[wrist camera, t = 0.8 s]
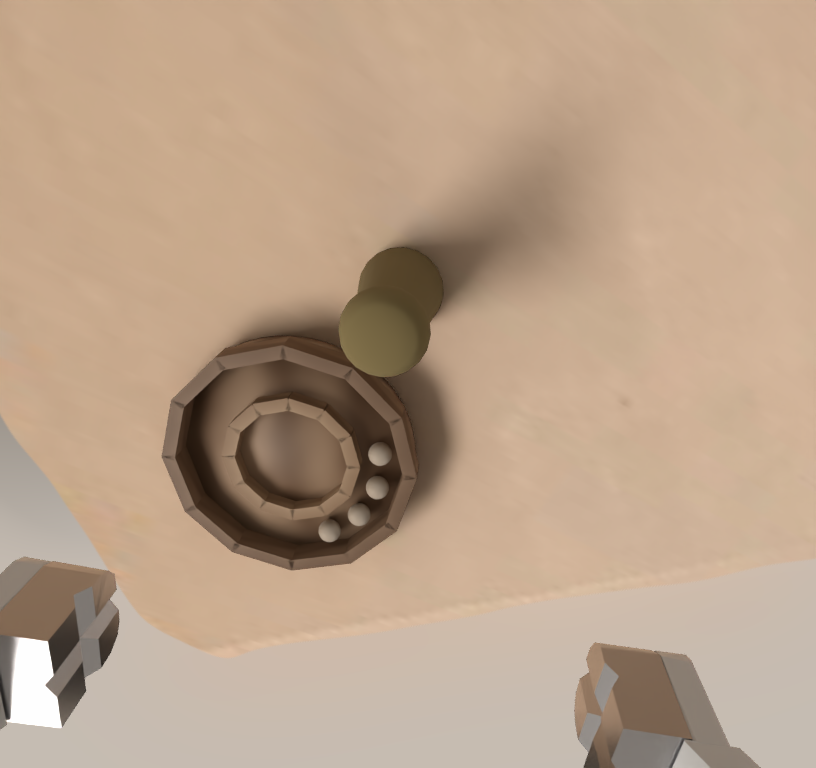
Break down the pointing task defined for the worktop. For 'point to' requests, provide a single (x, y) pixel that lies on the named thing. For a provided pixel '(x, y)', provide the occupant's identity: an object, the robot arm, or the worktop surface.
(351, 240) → the worktop surface
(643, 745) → the robot arm
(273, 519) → the tray
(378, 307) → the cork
